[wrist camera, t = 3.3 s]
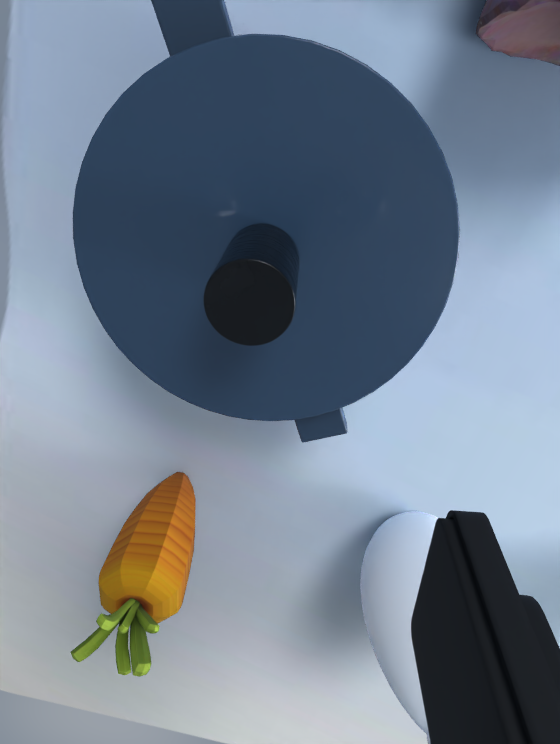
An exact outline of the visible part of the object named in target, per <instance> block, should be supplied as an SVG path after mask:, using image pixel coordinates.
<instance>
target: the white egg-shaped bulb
mask: <svg viewBox="0 0 560 744" xmlns="http://www.w3.org/2000/svg"><path fill="white" fill-rule="evenodd" d="M437 519H438V518H437V517H435V516H433V515H431V514H428V513H425V512H420V511H408V512H404V513H400V514H398V515H395V516H393V517H391V518H389V519H388V520H386V521H385V522H384V523H383V524H382V525H381V526H380V527H379V528H378V529H377V531H376V532H375V534H374V535H373V537H372V539H371V540H370V542H369V544H368V546H367V549H366V552H365V555H364V559H363V563H362V569H361V581H360V585H361V600H362V609H363V615H364V620H365V625H366V628H367V632H368V636H369V639H370V642H371V645H372V647H373V650H374V652H375V655H376V657H377V660H378V662H379V664H380V666H381V669H382V671H383V673H384V675H385V677H386V679H387V681H388V683H389V685H390V687H391V688H392V690H393V692H394V693H395V695H396V697H397V698H398V700H399V701H400V703H401V705H402V706H403V707H404V709H405V710H406V711H407V713H408V714H409V715H410V717H411V718H412V719H413V720H414V722H415V723H416V724H417V725H418V726H419V727H420V728H421V729H422V730H423V731H424V732H425V733H426V734H427V741H428V744H431V742H430V737H429V731H428V726H427V720H426V715H425V709H424V704H423V699H422V693H421V688H420V682H419V677H418V671H417V666H416V660H415V655H414V649H413V644H412V637H411V619H412V615H413V611H414V607H415V603H416V599H417V595H418V591H419V587H420V583H421V579H422V575H423V571H424V567H425V563H426V559H427V555H428V551H429V547H430V543H431V539H432V535H433V531H434V527H435V523H436V521H437Z"/></svg>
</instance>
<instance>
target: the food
mask: <svg viewBox="0 0 560 744" xmlns="http://www.w3.org/2000/svg"><path fill="white" fill-rule="evenodd" d="M476 34H477V36H478V37H479V38H480V39H481V40H483V41H484V42H485V43H486V44H487V45H488V47H489V48H490V49H491V50H492V51H498V52H503V53H505V54H507V55H509V56H512V57H521V58H530V59H538V60H542V61H546V62H549V63H553V64H556V65H559V66H560V0H487V1H486V3H485V5H484V8H483V10H482V13H481V15H480V18H479V21H478V24H477V28H476Z"/></svg>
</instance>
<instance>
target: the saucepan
mask: <svg viewBox="0 0 560 744" xmlns="http://www.w3.org/2000/svg"><path fill="white" fill-rule="evenodd" d="M151 1H152V4H153V7H154V10H155V13H156V16H157V19H158V22H159V25H160V28H161V31H162V34H163V37H164V39H165V42H166V45H167V48H168V51H169V54H170V57H171V56H173V55H175V54H177V53H179V52H182V51H184V50H186V49H188V48H190V47H192V46H195V45H198V44H202V43H205V42H209V41H212V40H216V39H219V38H223V37H231V36H234V33H233V29H232V26H231V22H230V19H229V15H228V12H227V9H226V5H225V2H224V0H151ZM295 423H296V426H297V429H298V432H299V435H300V438H301V441H302V442H308V441H312V440H317V439H322V438H326V437H331V436H336V435H341V434H345V433H347V422H346V419H345V415H344V412H343V409H342V408H339V409H337V410H334V411H331V412H327V413H324V414H320V415H317V416H313V417H307V418H301V419H295Z"/></svg>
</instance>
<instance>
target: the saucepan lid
mask: <svg viewBox="0 0 560 744" xmlns="http://www.w3.org/2000/svg"><path fill="white" fill-rule="evenodd" d="M459 238H460V227H459V214H458V203H457V199H456V194H455V190H454V185H453V180H452V177H451V174H450V171H449V169H448V166H447V163H446V161H445V158H444V155H443V152H442V150H441V149H440V147H439V145H438V143H437V141H436V139H435V137H434V136H433V134H432V132H431V130H430V128H429V127H428V125H427V124H426V122H425V121H424V120H423V118H422V117H421V116H420V114H419V113H418V112H417V110H416V109H415V108H414V106H413V105H412V104H411V103H410V102H409V101H408V100H407V99H406V98H405V97H404V96H403V95H402V94H401V93H400V92H399V91H398V90H397V89H396V88H395V87H394V86H393V85H392V84H391V83H390V82H389V81H388V80H386V79H385V78H384V77H382V76H381V75H380V74H378V73H377V72H376V71H374V70H373V69H372V68H370V67H369V66H368V65H366V64H364V63H362V62H360V61H359V60H357V59H355V58H353V57H351V56H349V55H347V54H345V53H344V52H342V51H340V50H337V49H334V48H331V47H328V46H326V45H323V44H320V43H317V42H314V41H311V40H306V39H301V38H295V37H290V36H285V35H268V34H248V35H240V36H231V37H223V38H219V39H216V40H212V41H209V42H205V43H202V44H198V45H195V46H192V47H190V48H188V49H186V50H184V51H182V52H179V53H177V54H175V55H173V56H171V57H169V58H167V59H165V60H164V61H162V62H161V63H159V64H158V65H156V66H155V67H153V68H152V69H150V70H149V71H147V72H146V73H144V74H143V75H142V76H141V77H140V78H139V79H138V80H137V81H136V82H134V83H133V84H132V85H131V86H130V87H129V88H128V89H127V90H126V91H125V92H124V93H123V94H122V95H121V96H120V97H119V99H118V100H117V101H116V102H115V104H114V105H113V106H112V107H111V109H110V110H109V111H108V112H107V114H106V115H105V117H104V118H103V120H102V122H101V123H100V125H99V127H98V129H97V130H96V132H95V134H94V135H93V137H92V139H91V142H90V144H89V147H88V149H87V152H86V154H85V156H84V159H83V161H82V165H81V169H80V173H79V177H78V181H77V184H76V189H75V198H74V207H73V239H74V246H75V253H76V259H77V265H78V268H79V272H80V275H81V279H82V282H83V286H84V289H85V291H86V293H87V296H88V298H89V301H90V303H91V305H92V308H93V310H94V311H95V313H96V315H97V317H98V319H99V320H100V322H101V324H102V326H103V327H104V329H105V330H106V332H107V333H108V335H109V336H110V337H111V339H112V340H113V341H114V343H115V344H116V346H117V347H118V348H119V349H120V350H121V351H122V353H123V354H124V355H125V356H126V357H127V358H128V359H129V360H130V361H131V362H132V363H133V364H134V365H135V366H136V367H137V368H138V369H139V370H140V371H142V372H143V373H144V374H145V375H146V376H147V377H148V378H150V379H151V380H152V381H154V382H155V383H157V384H158V385H160V386H161V387H162V388H164V389H165V390H167V391H168V392H170V393H172V394H174V395H176V396H177V397H179V398H181V399H183V400H185V401H187V402H189V403H191V404H194V405H196V406H199V407H201V408H204V409H206V410H209V411H212V412H216V413H219V414H223V415H226V416H231V417H236V418H242V419H248V420H262V421H281V420H295V419H301V418H307V417H313V416H317V415H320V414H324V413H327V412H331V411H334V410H337V409H339V408H342V407H344V406H347V405H349V404H351V403H354V402H356V401H357V400H359V399H361V398H363V397H365V396H367V395H368V394H370V393H372V392H374V391H375V390H376V389H378V388H379V387H381V386H382V385H383V384H385V383H386V382H387V381H389V380H390V379H392V378H393V377H394V376H395V375H396V374H397V373H398V372H399V371H400V370H401V369H402V368H403V367H405V366H406V365H407V364H408V363H409V361H410V360H411V359H412V358H413V357H414V356H415V354H416V353H417V352H418V351H419V350H420V348H421V347H422V346H423V345H424V343H425V342H426V340H427V338H428V337H429V335H430V334H431V332H432V331H433V329H434V328H435V326H436V324H437V322H438V320H439V318H440V316H441V314H442V312H443V310H444V308H445V306H446V303H447V300H448V297H449V294H450V291H451V288H452V285H453V282H454V277H455V272H456V267H457V261H458V255H459Z"/></svg>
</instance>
